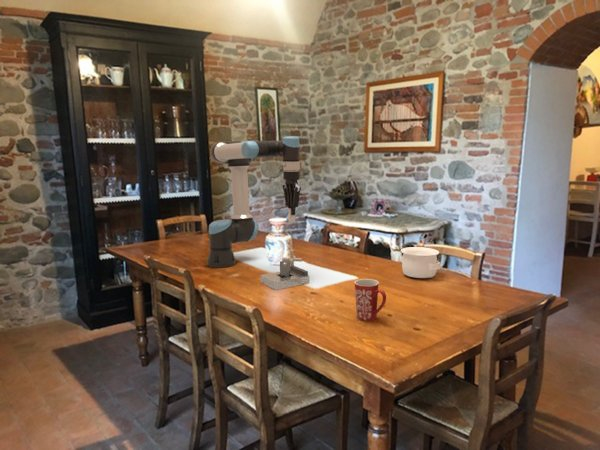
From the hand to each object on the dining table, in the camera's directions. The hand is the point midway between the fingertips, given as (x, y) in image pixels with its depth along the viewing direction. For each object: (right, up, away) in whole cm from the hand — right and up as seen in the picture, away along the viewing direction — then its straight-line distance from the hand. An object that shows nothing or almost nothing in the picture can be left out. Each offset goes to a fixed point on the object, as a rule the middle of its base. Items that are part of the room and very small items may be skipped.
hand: (291, 221), depth 217 cm
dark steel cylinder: (-3, -28, -1) cm, 28 cm away
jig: (-3, -28, -1) cm, 28 cm away
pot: (+61, -26, +8) cm, 67 cm away
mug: (+29, -36, -46) cm, 65 cm away
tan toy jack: (0, -24, +22) cm, 33 cm away
